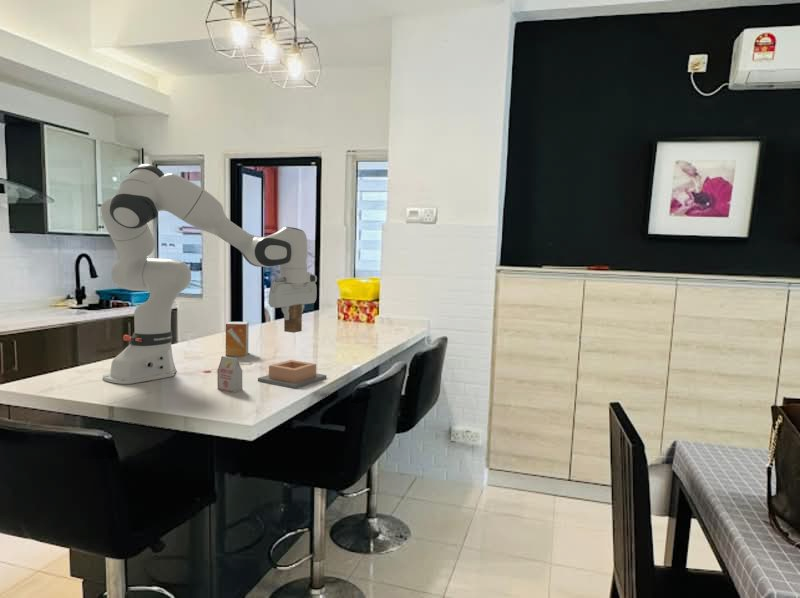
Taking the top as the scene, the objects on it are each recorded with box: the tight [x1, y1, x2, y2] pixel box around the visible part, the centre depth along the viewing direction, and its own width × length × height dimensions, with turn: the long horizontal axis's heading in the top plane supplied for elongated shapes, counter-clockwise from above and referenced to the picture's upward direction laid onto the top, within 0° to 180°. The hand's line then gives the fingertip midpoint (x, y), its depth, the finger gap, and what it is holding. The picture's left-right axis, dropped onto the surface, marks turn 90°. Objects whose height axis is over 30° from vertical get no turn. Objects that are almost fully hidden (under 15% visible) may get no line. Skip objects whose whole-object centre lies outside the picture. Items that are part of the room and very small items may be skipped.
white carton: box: [216, 356, 243, 394], centre depth 160 cm, size 4×7×10 cm, turn 60°
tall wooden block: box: [283, 304, 303, 334], centre depth 173 cm, size 4×4×9 cm
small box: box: [225, 321, 250, 357], centre depth 211 cm, size 8×6×13 cm
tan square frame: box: [257, 359, 327, 389], centre depth 174 cm, size 16×16×5 cm
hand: (293, 318), depth 173 cm, fingers closed on tall wooden block, 4 cm apart
